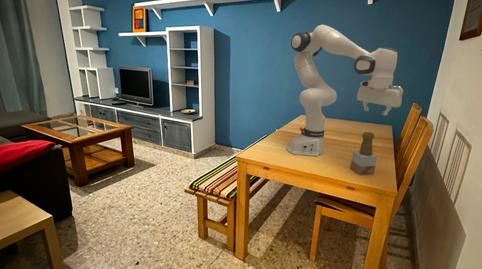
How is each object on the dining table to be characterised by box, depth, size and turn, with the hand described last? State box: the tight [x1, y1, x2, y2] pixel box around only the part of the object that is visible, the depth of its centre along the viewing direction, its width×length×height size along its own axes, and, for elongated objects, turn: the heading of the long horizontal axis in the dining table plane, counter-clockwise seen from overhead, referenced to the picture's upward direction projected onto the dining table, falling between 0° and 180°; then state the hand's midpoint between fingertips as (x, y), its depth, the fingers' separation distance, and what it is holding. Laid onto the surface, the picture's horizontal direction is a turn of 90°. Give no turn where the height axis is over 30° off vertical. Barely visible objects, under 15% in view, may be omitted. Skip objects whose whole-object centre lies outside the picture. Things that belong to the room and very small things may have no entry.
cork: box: [358, 131, 375, 156], centre depth 125 cm, size 6×6×11 cm
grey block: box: [351, 150, 378, 167], centre depth 127 cm, size 8×8×5 cm
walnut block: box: [349, 160, 376, 176], centre depth 129 cm, size 8×8×5 cm
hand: (375, 112), depth 121 cm, fingers open, 8 cm apart
